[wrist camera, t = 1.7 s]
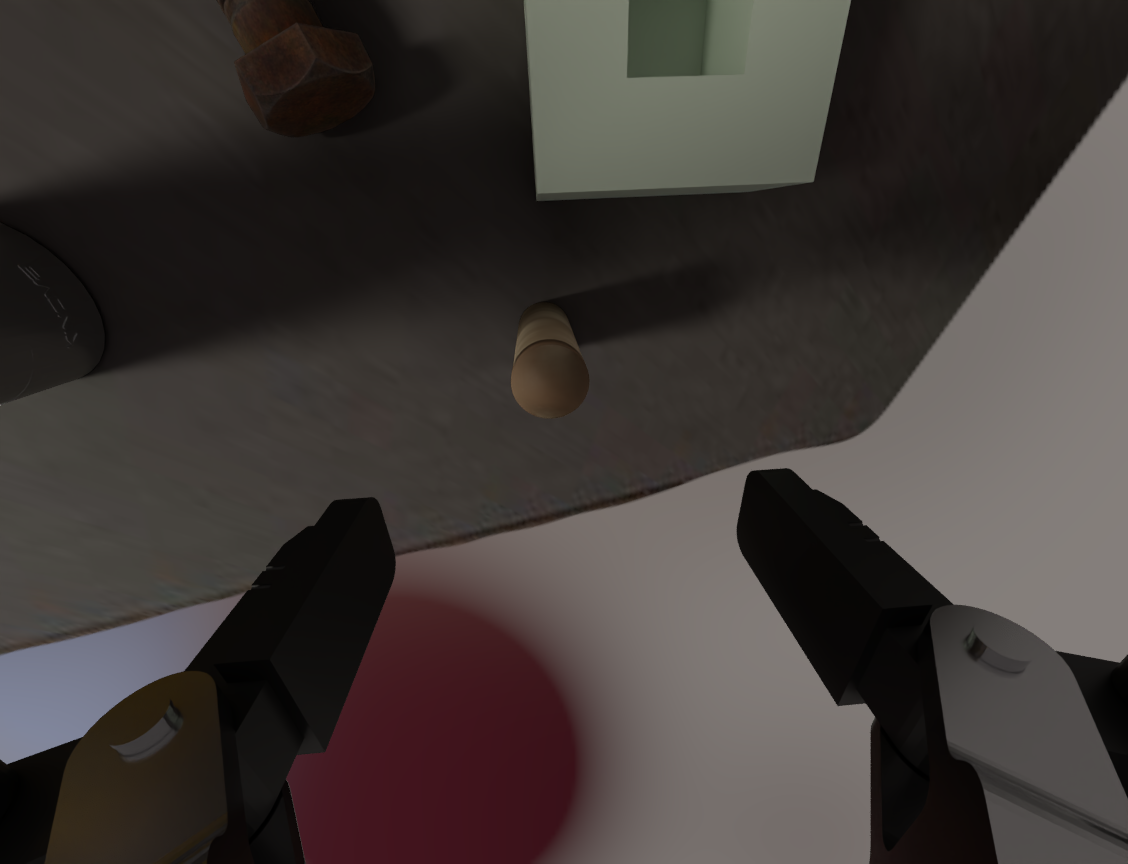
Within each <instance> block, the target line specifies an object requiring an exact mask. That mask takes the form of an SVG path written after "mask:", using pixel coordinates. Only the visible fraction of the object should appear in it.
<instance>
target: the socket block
mask: <svg viewBox="0 0 1128 864" xmlns="http://www.w3.org/2000/svg"><path fill="white" fill-rule="evenodd" d="M850 3H851V0H524V12H525V28H526V44H527V60H528V76H529V92H530V108H531V124H532V140H533V156H534V172H535V188H536V201H551V200H574V199H597V198H620V197H643V196H667V195H690V194H713V193H736V192H751V191H758V190H764V189H771V188H777V187H784V186H790V185H797V184H803V183H810V182H814V178H815V173H816V168H817V163H818V158H819V153H820V148H821V144H822V139H823V134H824V129H825V124H826V119H827V114H828V110H829V105H830V100H831V95H832V90H833V85H834V80H835V76H836V71H837V66H838V61H839V56H840V51H841V46H842V42H843V37H844V32H845V27H846V22H847V17H848V12H849V8H850Z"/></svg>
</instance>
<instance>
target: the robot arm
mask: <svg viewBox="0 0 1128 864" xmlns="http://www.w3.org/2000/svg"><path fill="white" fill-rule="evenodd" d="M104 343H105V333H104V328H103V323H102V319H101V316H100V314H99V312H98V310H97V307H96V305H95V303H94V301H93V299H92V298H91V296H90V295H89V293H88V292H87V290H86V289H85V287H84V286H83V284H82V283H81V282H80V281H79V279H78V278H77V277H76V276H75V275H74V274H73V273H72V272H71V271H70V269H69V268H68V267H67V266H66V265H65V264H64V263H62V262H61V261H60V260H59V259H58V258H57V257H56V256H54V255H53V254H52V253H51V252H50V251H49V250H47V249H46V248H44V247H43V246H41V245H40V244H38V243H37V242H35V241H34V240H32V239H31V238H29V237H28V236H26V235H24V234H22V233H20V232H18V231H16V230H14V229H12V228H10V227H8V226H6V225H4V224H2V223H0V405H2V404H5V403H8V402H11V401H14V400H17V399H20V398H23V397H25V396H28V395H31V394H34V393H37V392H40V391H43V390H46V389H49V388H52V387H55V386H58V385H61V384H64V383H67V382H70V381H73V380H76V379H79V378H81V377H83V376H84V375H86V374H88V373H89V372H91V371H92V370H93V369H94V367H95V366H96V365H97V364H98V363H99V362H100V359H101V356H102V354H103V351H104ZM737 539H738V543H739V547H740V550H741V552H742V554H743V556H744V558H745V559H746V561H747V562H748V564H749V566H750V567H751V569H752V570H753V572H754V574H755V575H756V577H757V578H758V580H759V582H760V583H761V585H762V586H763V588H764V589H765V591H766V593H767V594H768V596H769V597H770V599H771V601H772V602H773V604H774V605H775V607H776V609H777V610H778V612H779V613H780V615H781V616H782V618H783V620H784V621H785V623H786V624H787V626H788V628H789V629H790V631H791V632H792V634H793V636H794V637H795V639H796V640H797V642H798V644H799V645H800V647H801V648H802V650H803V651H804V653H805V655H806V656H807V658H808V659H809V661H810V663H811V664H812V666H813V667H814V669H815V671H816V672H817V674H818V675H819V677H820V678H821V680H822V682H823V683H824V685H825V686H826V688H827V689H828V691H829V693H830V694H831V696H832V698H833V699H834V701H835V702H836V704H837V705H838V706H842V705H852V704H863V703H866V704H867V705H868V707H869V709H870V710H871V711H872V713H873V714H874V716H875V718H874V720H873V723H872V725H871V847H870V848H871V849H870V861H869V864H1128V655H1127V656H1126V657H1125V658H1124V659H1123V660H1122V661H1121V662H1120V663H1118V662H1113V661H1107V660H1102V659H1096V658H1091V657H1085V656H1080V655H1074V654H1069V653H1064V652H1059V651H1054V649H1052V648H1051V647H1050V646H1049V645H1048V644H1046V643H1045V642H1044V641H1043V640H1041V639H1040V638H1039V637H1037V636H1036V635H1034V634H1033V633H1031V632H1030V631H1028V630H1027V629H1025V628H1023V627H1022V626H1020V625H1018V624H1016V623H1014V622H1012V621H1010V620H1008V619H1006V618H1004V617H1001V616H999V615H997V614H994V613H992V612H989V611H986V610H983V609H979V608H975V607H970V606H964V605H953V604H952V603H951V602H950V601H949V600H948V599H947V598H946V597H945V596H944V595H943V594H941V593H940V592H939V591H938V590H937V589H936V588H935V587H934V586H933V585H932V584H930V583H929V582H928V581H927V580H926V579H925V578H924V577H923V576H921V574H919V573H918V572H917V571H916V570H915V569H914V568H913V567H912V566H911V565H909V564H908V563H907V562H906V561H905V560H904V559H903V558H902V557H901V556H900V555H898V554H897V553H896V552H895V551H894V550H893V549H892V548H891V547H889V545H887V544H886V543H885V542H884V541H880V540H879V536H877V535H876V534H875V533H874V532H873V531H872V530H871V529H870V528H869V527H868V526H867V525H865V526H863V524H862V521H861V520H860V519H859V518H858V517H857V516H856V515H854V514H853V513H852V512H851V511H850V510H849V509H848V508H847V507H846V506H845V505H843V504H842V503H840V502H838V501H837V500H835V499H833V498H831V497H829V496H827V495H826V494H824V493H822V492H820V491H818V490H812V489H811V488H810V487H809V486H808V485H807V484H806V483H805V482H804V481H803V480H802V479H801V478H800V477H799V476H798V475H797V474H796V473H794V472H793V471H792V470H791V469H787V468H785V469H770V470H756V471H751V472H750V473H749V474H748V476H747V478H746V482H745V487H744V493H743V497H742V503H741V508H740V513H739V518H738V523H737ZM395 566H396V561H395V552H394V549H393V546H392V542H391V539H390V536H389V533H388V530H387V526H386V523H385V520H384V517H383V514H382V510H381V507H380V504H379V502H378V501H377V500H376V499H375V498H373V497H369V498H356V499H342V500H335V501H333V502H332V503H331V504H330V505H329V507H328V508H327V509H326V511H325V512H324V513H323V515H322V516H321V517H320V519H319V520H318V522H317V523H316V524H315V526H308V527H306V528H305V529H304V530H302V531H301V532H300V533H298V534H297V535H296V536H294V537H293V538H292V539H291V540H289V541H288V542H287V543H285V544H284V545H283V546H282V547H281V548H280V550H279V551H278V552H277V554H276V555H275V556H274V557H273V559H272V560H271V561H270V563H269V564H268V565H267V566H266V571H262V573H261V574H260V575H259V577H258V578H257V579H256V580H255V582H254V583H253V584H252V589H251V590H248V591H247V592H246V593H245V594H244V596H243V597H242V598H241V600H240V601H239V602H238V603H237V605H236V606H235V607H234V608H233V610H232V611H231V612H230V614H229V615H228V616H227V617H226V619H225V620H224V621H223V622H222V624H221V625H220V626H219V628H218V629H217V630H216V632H215V633H214V634H213V635H212V637H211V638H210V639H209V640H208V642H207V643H206V644H205V645H204V647H203V648H202V649H201V651H200V652H199V653H198V654H197V656H196V657H195V658H194V660H193V661H192V662H191V663H190V665H189V666H188V667H187V668H186V669H185V671H184V672H180V673H176V674H172V675H169V676H166V677H164V678H161V679H159V680H156V681H154V682H152V683H150V684H148V685H146V686H144V687H143V688H141V689H139V690H137V691H136V692H134V693H133V694H131V695H129V696H128V697H127V698H125V699H123V700H122V701H121V702H119V703H118V704H117V705H115V706H114V707H113V708H112V709H111V710H109V711H108V712H107V713H106V714H105V715H104V716H102V717H101V718H100V719H99V720H98V721H97V722H96V723H95V724H94V725H93V726H92V727H91V728H90V729H89V730H88V732H87V733H86V734H85V735H84V736H83V737H82V738H79V739H76V740H73V741H70V742H68V743H65V744H62V745H59V746H57V747H54V748H51V749H48V750H46V751H43V752H40V753H37V754H34V755H32V756H29V757H26V758H24V759H21V760H18V761H15V762H12V763H10V764H5V763H4V762H3V761H1V760H0V864H306V863H305V858H304V854H303V849H302V844H301V839H300V834H299V830H298V825H297V820H296V815H295V810H294V805H293V801H292V796H291V791H290V787H289V784H288V782H287V780H286V777H287V775H288V773H289V771H290V768H291V766H292V764H293V761H294V759H295V757H296V755H300V754H310V753H321V752H325V751H326V749H327V746H328V744H329V741H330V738H331V736H332V734H333V731H334V729H335V726H336V723H337V721H338V718H339V716H340V713H341V711H342V708H343V706H344V703H345V701H346V698H347V696H348V693H349V691H350V688H351V686H352V683H353V681H354V678H355V676H356V673H357V671H358V668H359V666H360V663H361V660H362V658H363V655H364V653H365V650H366V648H367V645H368V643H369V640H370V638H371V635H372V633H373V630H374V627H375V625H376V623H377V620H378V618H379V615H380V612H381V610H382V607H383V605H384V603H385V600H386V598H387V595H388V593H389V590H390V587H391V585H392V582H393V579H394V574H395Z"/></svg>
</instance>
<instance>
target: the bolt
mask: <svg viewBox="0 0 1128 864" xmlns="http://www.w3.org/2000/svg"><path fill="white" fill-rule="evenodd" d="M217 2H218V3H219V5H220V7H221V9H222V11H223V13H224V14H225V15H226V17H227V19H228V21H229V23H230V24H231V26H232V31H233V33H234V35H235V37H236V38H237V40H238V42H239V43H240V45H241V47H242V48H243V50H244V52H245V53H246V54H245V55H244V56H242V57H241V58H239V59H237V60H236V61H234V63H235V67H236V70H237V73H238V76H239V80H240V83H241V86H242V89H243V92H244V95H245V98H246V101H247V103H248V105H249V106H250V108H251V109H252V111H253V112H254V114H255V116H256V117H257V119H258V120H259V122H260V123H261V125H262V127H263V128H264V129H266V130H269V131H272V132H274V133H277V134H280V135H284V136H288V137H302V136H307V135H311V134H315V133H320V132H323V131H326V130H329V129H332V128H334V127H336V126H338V125H339V124H341V123H343V122H345V121H347V120H349V119H351V118H352V117H354V116H355V115H357V114H358V113H359V112H360V111H361V110H362V109H363V108H364V107H365V106H366V105H367V104H368V103H369V101H370V100H371V99H372V98H373V96H374V93H375V77H374V70H373V64H372V62H371V60H370V58H369V56H368V54H367V52H366V50H365V48H364V46H363V44H362V42H361V40H360V38H359V36H358V34H357V33H352V32H346V31H341V30H335V29H329V28H324V27H323V26H322V24H321V22H320V20H319V18H318V16H317V14H316V13H315V11H314V9H313V7H312V5H311V4H310V2H309V1H308V0H217Z"/></svg>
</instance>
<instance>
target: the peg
mask: <svg viewBox="0 0 1128 864" xmlns="http://www.w3.org/2000/svg"><path fill="white" fill-rule="evenodd" d="M511 388H512V392H513V395H514V397H515V399H516V401H517V402H518V403H519V405H520V406H521V407H522V408H523V409H524V410H526V411H527V412H529V413H530V414H532V415H535V416H537V417H541V418H558V417H562V416H565V415H567V414H569V413H571V412H573V411H574V410H575V409H576V408H578V407H579V406H580V404H581V403H582V402H583V400H584V399H585V397H586V395H587V392H588V388H589V374H588V370H587V367H586V364H585V362H584V360H583V358H582V355H581V353H580V350H579V347H578V345H577V342H576V339H575V337H574V334H573V331H572V329H571V326H570V323H569V321H568V318H567V316H566V314H565V313H564V311H563V310H562V309H561V308H560V307H558V306H557V305H555V304H552V303H548V302H539V303H536V304H533V305H531V306H530V307H528V308H527V309H526V310H525V311H524V313H523V314H522V316H521V318H520V322H519V328H518V335H517V342H516V350H515V357H514V364H513V369H512V375H511Z"/></svg>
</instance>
